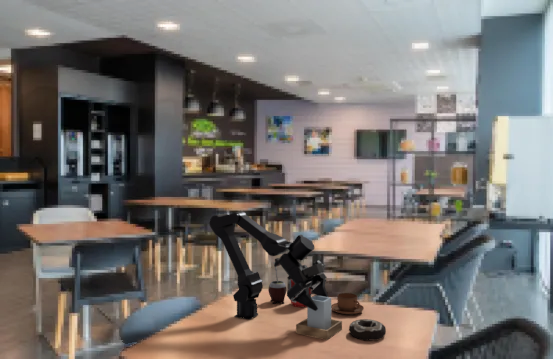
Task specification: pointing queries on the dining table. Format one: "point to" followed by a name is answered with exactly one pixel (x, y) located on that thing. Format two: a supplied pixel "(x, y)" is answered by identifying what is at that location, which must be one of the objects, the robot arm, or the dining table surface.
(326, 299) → the tall grey bin
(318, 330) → the shallow brown tray
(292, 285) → the canned food
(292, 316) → the dining table surface
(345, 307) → the cup and saucer
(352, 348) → the dining table surface
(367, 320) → the donut
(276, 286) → the mate gourd
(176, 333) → the dining table surface
